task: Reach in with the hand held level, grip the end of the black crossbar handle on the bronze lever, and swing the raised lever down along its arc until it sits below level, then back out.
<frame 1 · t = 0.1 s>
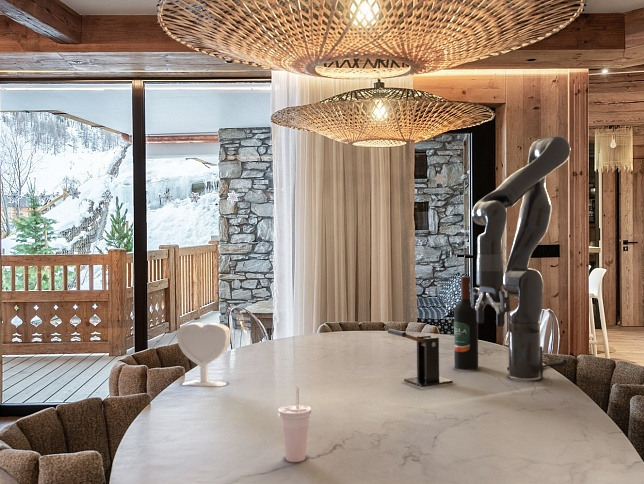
hand: (490, 324, 176), 17 cm above the table, tool pointing down, fingers open, 8 cm apart
wine bottle: (466, 369, 196), on the table
lever: (413, 338, 175), point 14 cm above the table, hinge at 20.0°
heart sculpture: (204, 384, 180), on the table
smoothie: (295, 459, 118), on the table
bracket: (428, 383, 177), on the table
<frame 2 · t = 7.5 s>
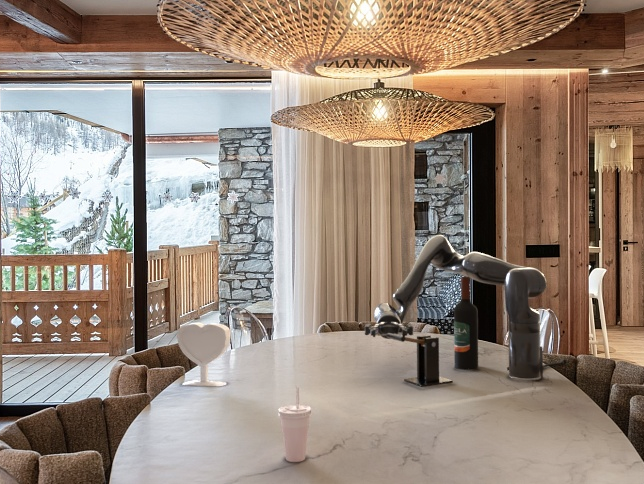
hand: (388, 333, 174), 15 cm above the table, tool horizontal, fingers open, 8 cm apart
lever: (412, 340, 175), point 13 cm above the table, hinge at 13.3°
everything else where it was.
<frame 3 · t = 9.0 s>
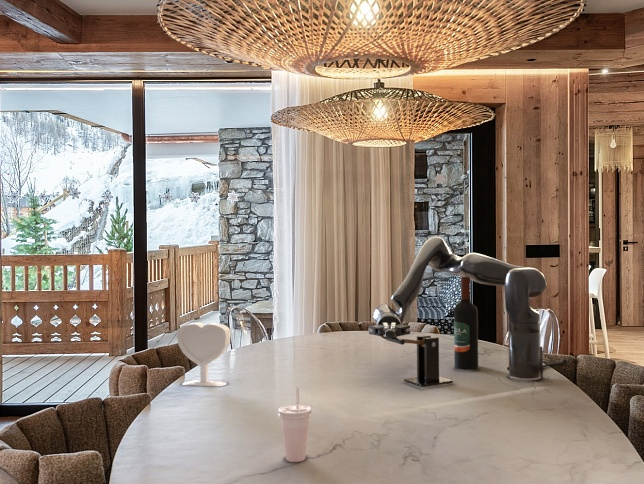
hand: (390, 334, 171), 16 cm above the table, tool horizontal, fingers closed
lever: (412, 341, 175), point 13 cm above the table, hinge at 9.2°, touching gripper
everything else where it was.
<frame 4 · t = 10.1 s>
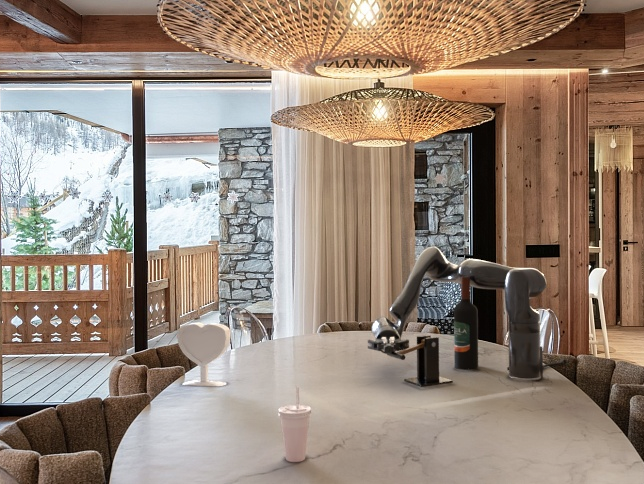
hand: (388, 349, 171), 11 cm above the table, tool horizontal, fingers closed
lever: (412, 348, 175), point 11 cm above the table, hinge at -12.7°, touching gripper
everything else where it was.
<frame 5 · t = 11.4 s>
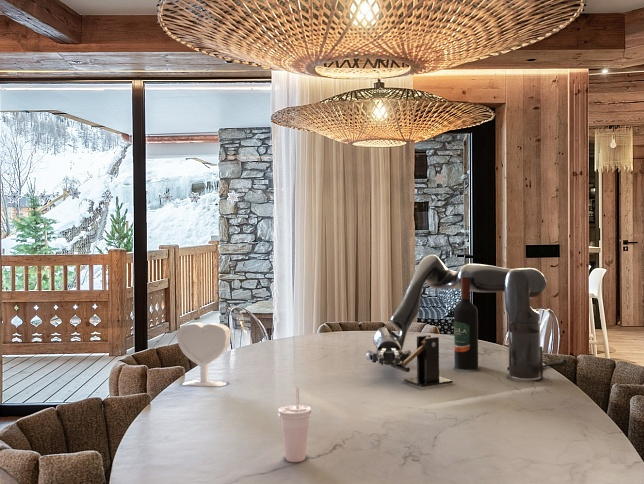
hand: (389, 361, 171), 8 cm above the table, tool horizontal, fingers open, 3 cm apart
lever: (415, 354, 175), point 9 cm above the table, hinge at -32.4°, touching gripper
everything else where it was.
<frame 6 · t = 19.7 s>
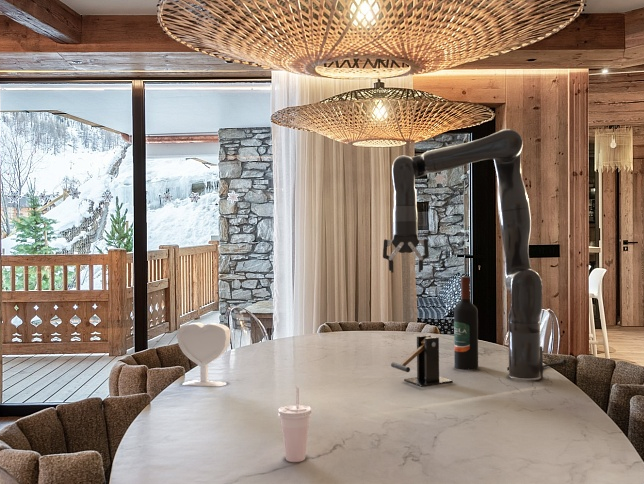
hand: (405, 272, 189), 32 cm above the table, tool pointing down, fingers open, 8 cm apart
lever: (415, 354, 175), point 9 cm above the table, hinge at -32.6°
everything else where it was.
at the end: lever at -33° (first picture: +20°); lever reached +20° during the clip, -33° at the end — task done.
